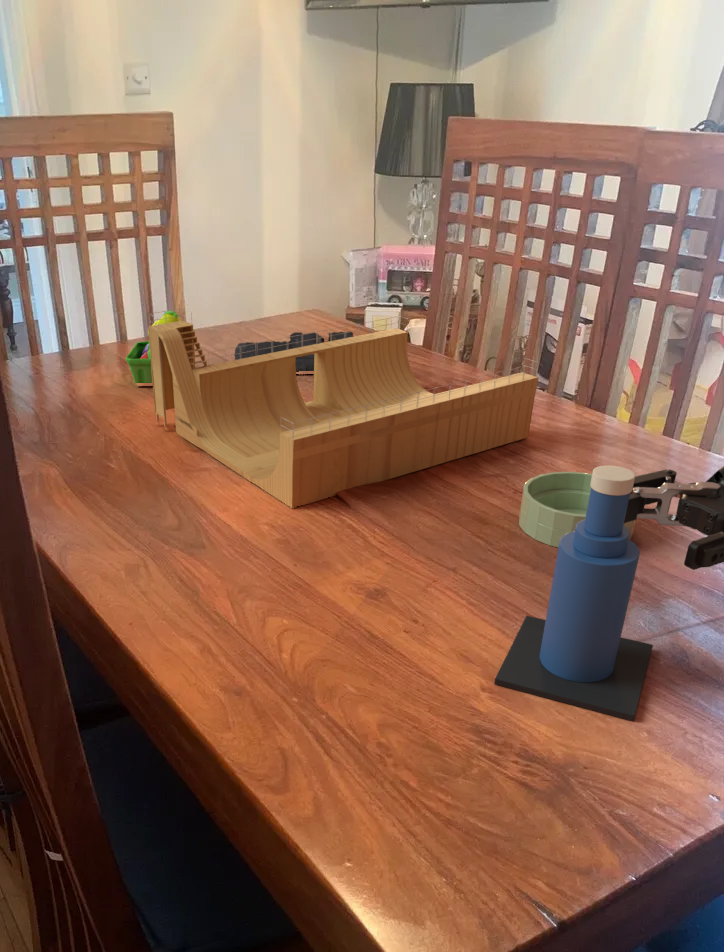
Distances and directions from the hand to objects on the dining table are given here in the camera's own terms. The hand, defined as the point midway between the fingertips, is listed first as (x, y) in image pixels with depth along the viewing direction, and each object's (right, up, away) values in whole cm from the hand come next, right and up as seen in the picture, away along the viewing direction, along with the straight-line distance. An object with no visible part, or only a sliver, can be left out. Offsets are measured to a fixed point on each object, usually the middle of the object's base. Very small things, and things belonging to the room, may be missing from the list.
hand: (644, 535), depth 69 cm
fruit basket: (-49, +32, +78) cm, 98 cm away
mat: (-4, -11, +5) cm, 13 cm away
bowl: (+4, +3, +27) cm, 27 cm away
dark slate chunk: (-26, +37, +85) cm, 97 cm away
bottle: (-4, -10, +4) cm, 12 cm away
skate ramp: (-21, +19, +55) cm, 61 cm away
